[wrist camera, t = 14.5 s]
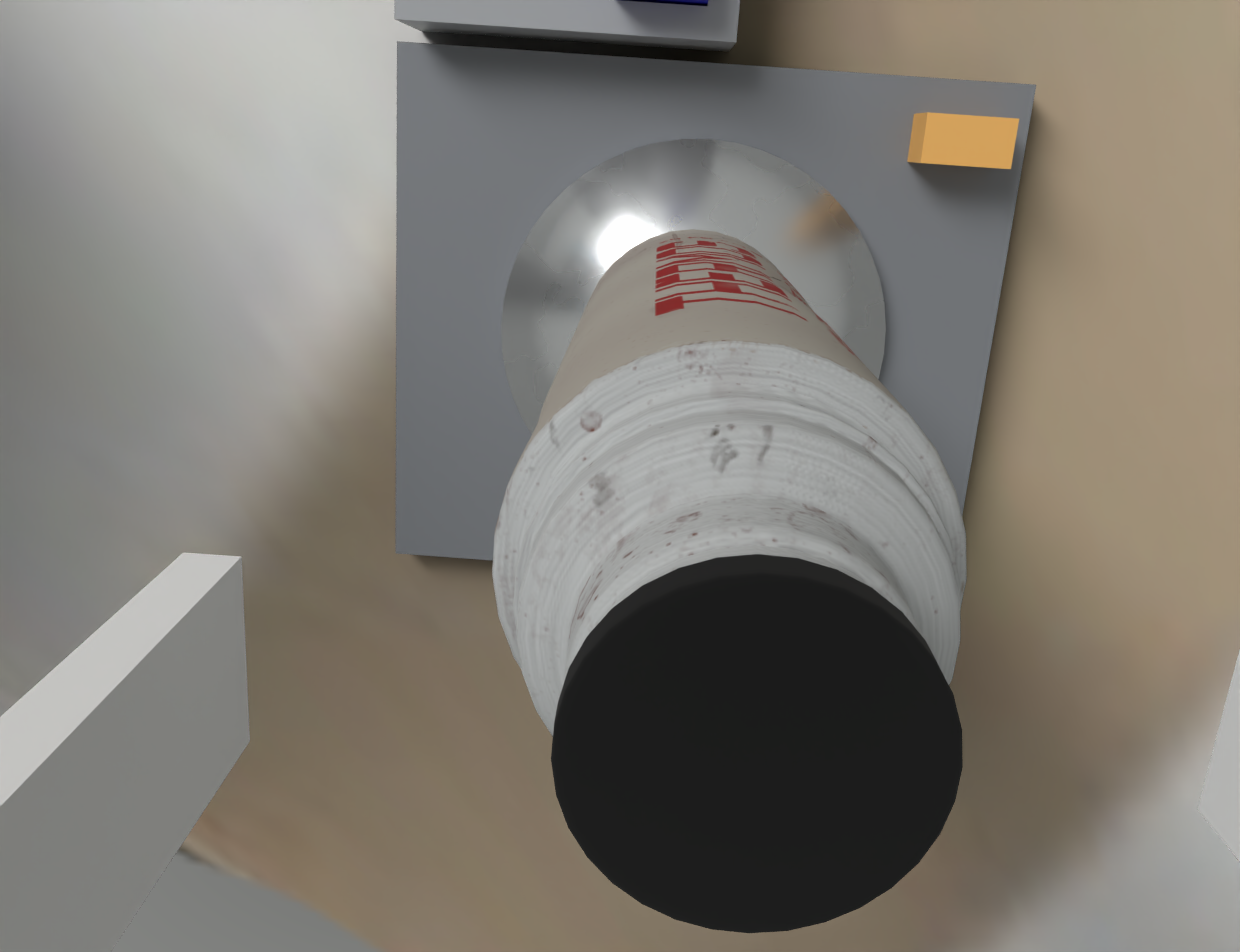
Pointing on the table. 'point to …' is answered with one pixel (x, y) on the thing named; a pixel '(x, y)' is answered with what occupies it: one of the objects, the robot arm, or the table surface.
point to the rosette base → (671, 201)
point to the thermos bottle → (734, 597)
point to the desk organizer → (581, 21)
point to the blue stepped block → (676, 2)
